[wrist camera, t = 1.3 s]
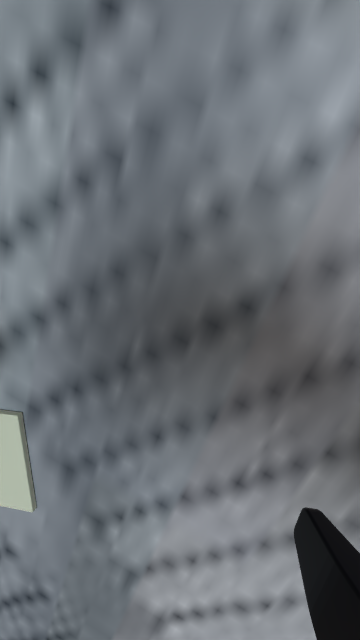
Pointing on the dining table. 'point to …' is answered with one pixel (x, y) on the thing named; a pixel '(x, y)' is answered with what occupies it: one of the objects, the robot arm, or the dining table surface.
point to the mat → (15, 464)
